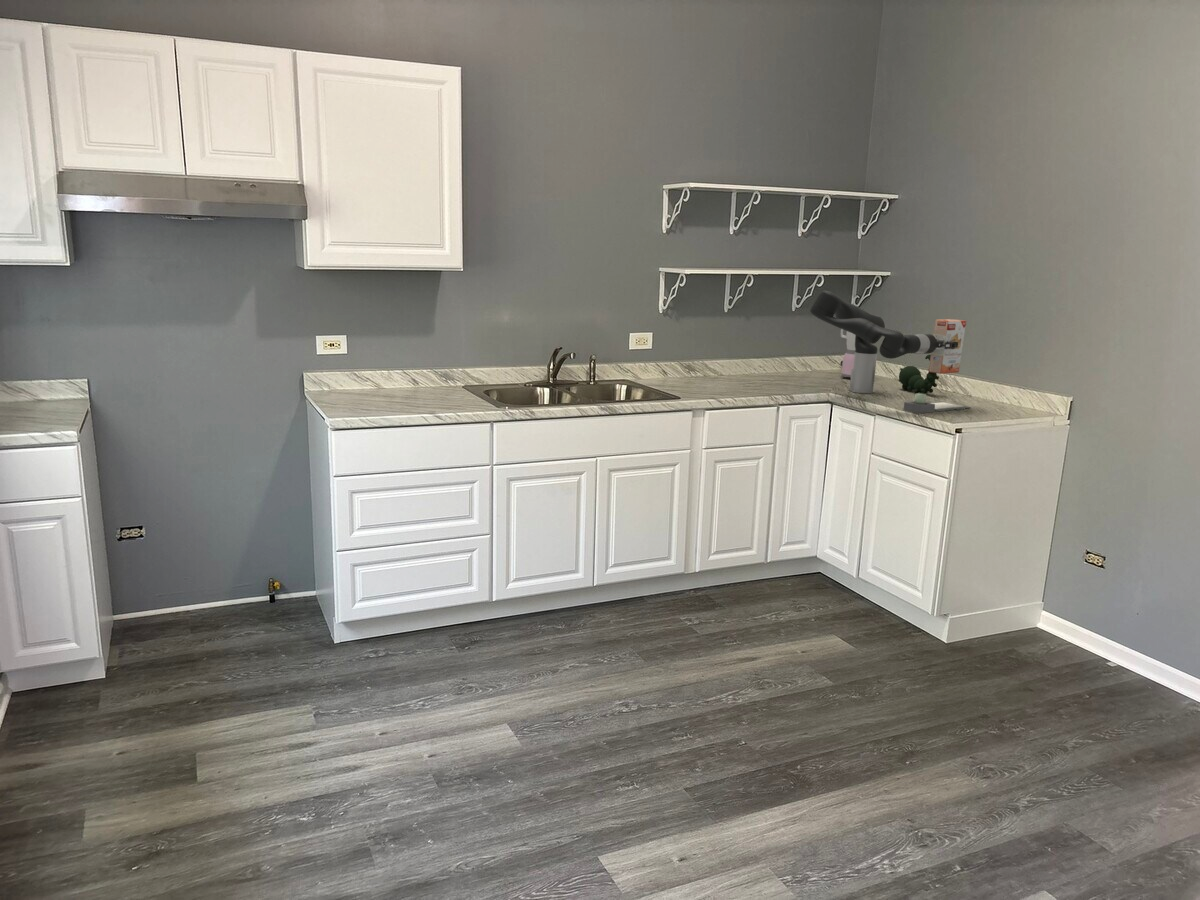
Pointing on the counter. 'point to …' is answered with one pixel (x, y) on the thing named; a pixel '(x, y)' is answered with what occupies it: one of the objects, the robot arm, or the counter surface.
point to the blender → (848, 354)
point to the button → (920, 399)
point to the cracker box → (944, 357)
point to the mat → (947, 406)
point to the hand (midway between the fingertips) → (949, 343)
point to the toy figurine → (917, 379)
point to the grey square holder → (919, 407)
